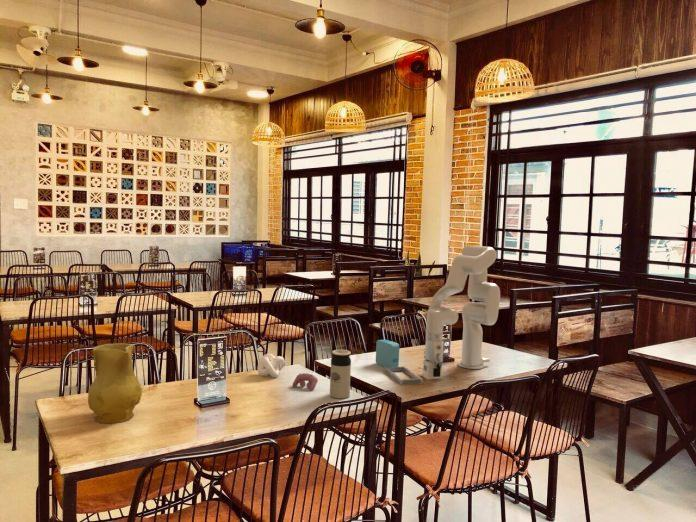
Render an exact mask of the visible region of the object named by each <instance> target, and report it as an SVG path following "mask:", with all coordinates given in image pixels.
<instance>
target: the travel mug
mask: <svg viewBox="0 0 696 522" xmlns="http://www.w3.org/2000/svg"><path fill="white" fill-rule="evenodd" d="M331 353H332V357H331V359H330V375H329V376H330V378H329V379H330V380H329V396H330V397H332V398H333V399H339V398H341V399H342V398H343V399H346V398H348V397H350V396H351V395H350V394H351V393H350V392H351V373H352V372H351V371H352V368H351V367H352V359H351V354H352V353H351V351H350V350H346V349H334V350H331ZM341 399H340V400H341Z"/></svg>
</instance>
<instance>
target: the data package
mask: <svg viewBox="0 0 696 522" xmlns="http://www.w3.org/2000/svg"><path fill="white" fill-rule="evenodd" d="M399 360H400V344H399V343H397V342H395V341H391V340H388V339H378V340H377V341H376V345H375V363H376V364H377V365H379V366H381V367H399Z"/></svg>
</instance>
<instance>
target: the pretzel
mask: <svg viewBox="0 0 696 522" xmlns="http://www.w3.org/2000/svg"><path fill="white" fill-rule="evenodd" d="M284 367H285V359H284V357H283V356H280V355H278V356H275V355H274V354H272V353H266V354H264V355H263V356H262V357H260V359H259V361H258V363H257V373H258V375H259V376H261V377H267V376H269V375H270V377H272V378H275V379H276V378H278V377H279V376H280V371H282V369H284Z"/></svg>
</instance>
